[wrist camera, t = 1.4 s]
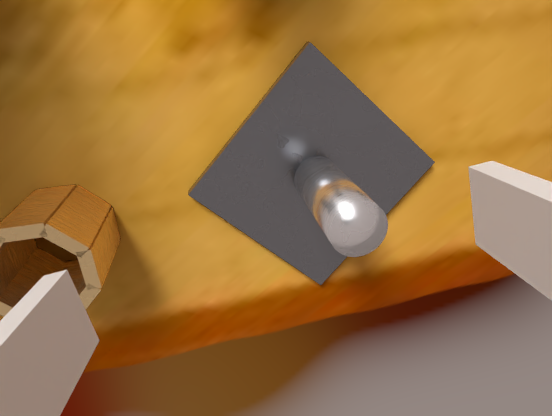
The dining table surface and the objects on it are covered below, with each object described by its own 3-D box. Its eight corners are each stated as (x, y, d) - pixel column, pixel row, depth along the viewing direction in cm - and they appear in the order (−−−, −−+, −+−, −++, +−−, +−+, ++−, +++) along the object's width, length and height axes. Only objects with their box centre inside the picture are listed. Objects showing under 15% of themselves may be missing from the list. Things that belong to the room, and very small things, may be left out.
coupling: (0, 239, 36) (-51, 291, 28) (50, 167, 34) (10, 203, 27) (86, 284, 39) (59, 342, 31) (136, 220, 37) (120, 265, 30)
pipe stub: (188, 190, 37) (183, 256, 26) (307, 41, 34) (358, 44, 23) (318, 279, 43) (358, 363, 32) (429, 159, 40) (516, 206, 29)
